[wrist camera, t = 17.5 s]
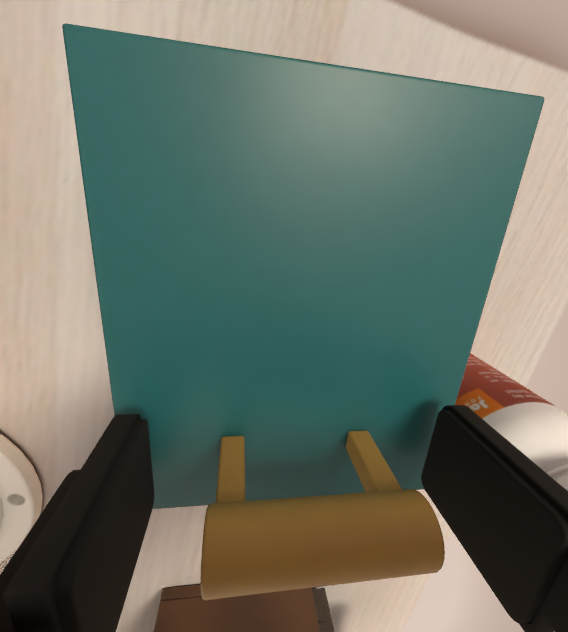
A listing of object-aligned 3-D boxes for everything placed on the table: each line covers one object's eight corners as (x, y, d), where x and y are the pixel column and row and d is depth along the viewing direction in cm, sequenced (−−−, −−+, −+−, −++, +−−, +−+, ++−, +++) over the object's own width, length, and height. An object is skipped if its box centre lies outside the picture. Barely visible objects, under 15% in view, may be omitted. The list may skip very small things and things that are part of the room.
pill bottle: (396, 318, 18) (601, 456, 8) (473, 346, 20) (732, 493, 9) (353, 402, 20) (478, 608, 9) (428, 422, 21) (607, 620, 11)
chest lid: (418, 472, 12) (521, 620, 7) (135, 490, 10) (57, 693, 6) (518, 107, 8) (854, -22, 4) (80, 43, 6) (-272, -335, 2)
